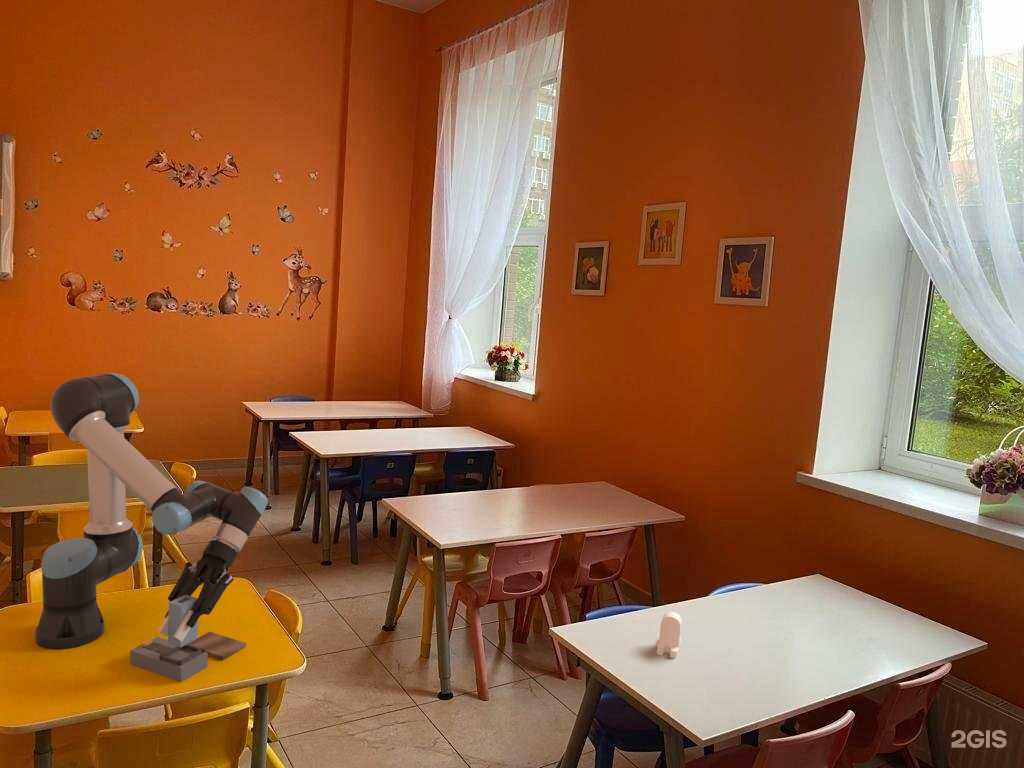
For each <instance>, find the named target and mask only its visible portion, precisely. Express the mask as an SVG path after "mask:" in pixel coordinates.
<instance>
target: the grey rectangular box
mask: <svg viewBox="0 0 1024 768" xmlns="http://www.w3.org/2000/svg"><path fill="white" fill-rule="evenodd" d="M140 644H141V645H138V646H136V647H134V648H132V649H130V650H129V665H131V666H134V667H136V668H140V669H143V670H145V671H147V672H151V673H153V674H157V675H159V676H162V677H166V678H168V679H171V680H174V681H176V682H180V683H182V682H185V681H186V680H188V679H190V678H191V677H192V676H195V675H196V674H198V673H199V672H202V671H203V670H205V669H206V668H208V657H209V656H208V653H206V652H204V649H202V648H199V647H196V646H193V645H190V644H186V645H185V646H183V647H178V646H175V645H172V644H170V643H168V639H166V638H163V637H160V636H156V637H155V638H153V639H151V638H148V639H146V640H144V641H141V642H140Z"/></svg>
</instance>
